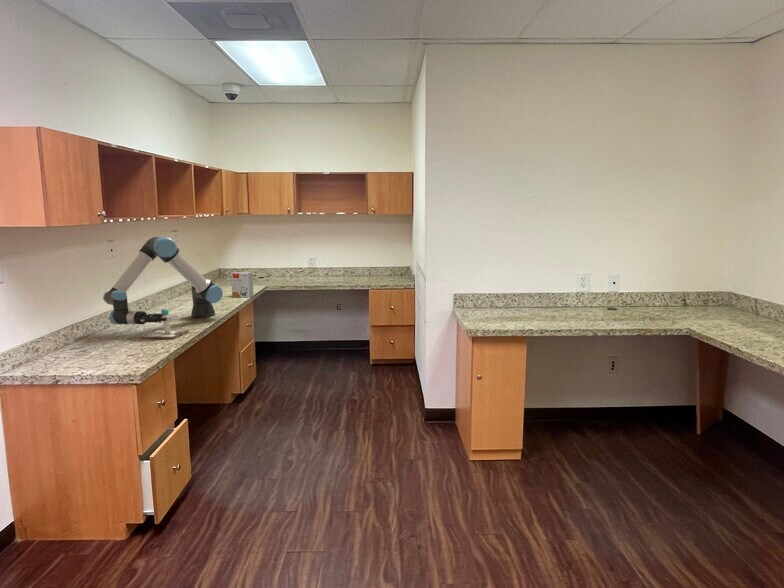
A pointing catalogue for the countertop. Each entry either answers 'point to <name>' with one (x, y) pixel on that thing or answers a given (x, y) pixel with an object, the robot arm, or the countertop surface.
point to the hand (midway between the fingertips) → (175, 318)
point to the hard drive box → (242, 284)
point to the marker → (166, 324)
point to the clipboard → (161, 334)
